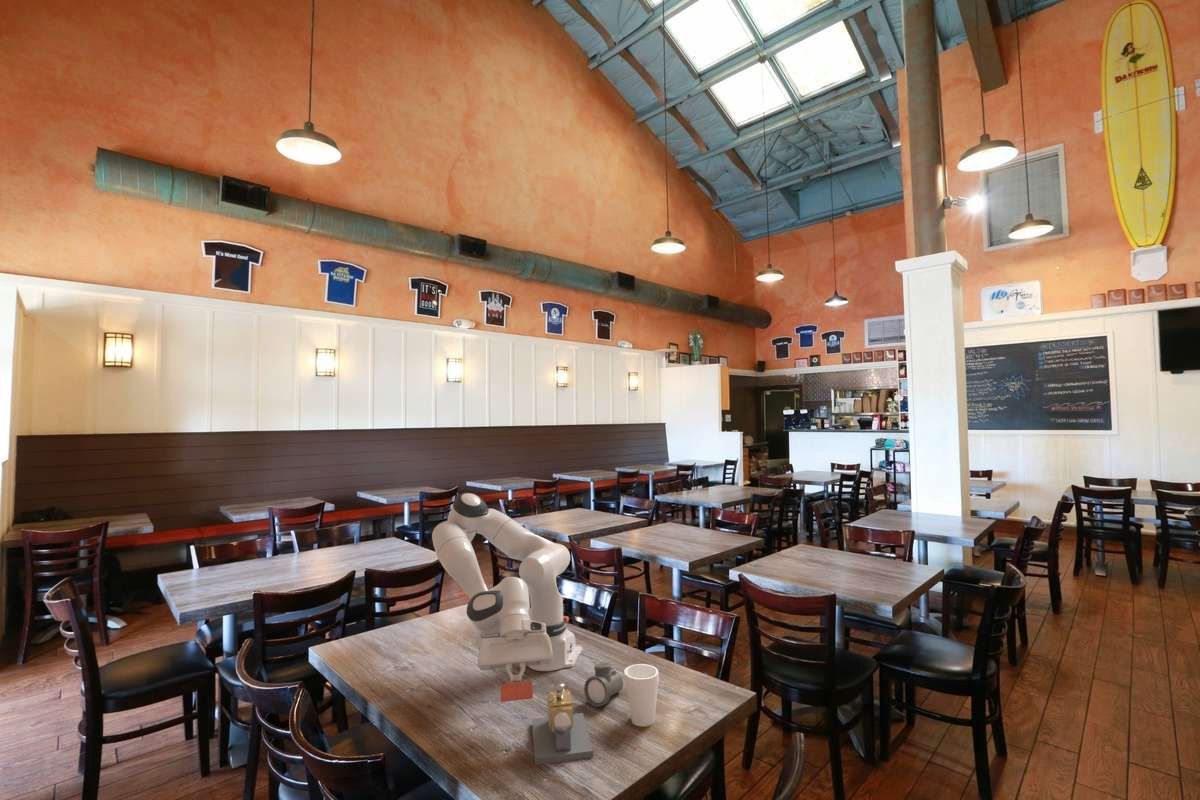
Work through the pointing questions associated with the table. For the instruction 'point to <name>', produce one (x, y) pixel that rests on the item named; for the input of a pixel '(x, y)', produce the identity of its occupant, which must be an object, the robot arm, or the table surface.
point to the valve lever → (527, 690)
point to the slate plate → (546, 741)
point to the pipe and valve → (561, 718)
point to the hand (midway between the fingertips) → (516, 682)
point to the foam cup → (642, 693)
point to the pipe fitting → (602, 684)
